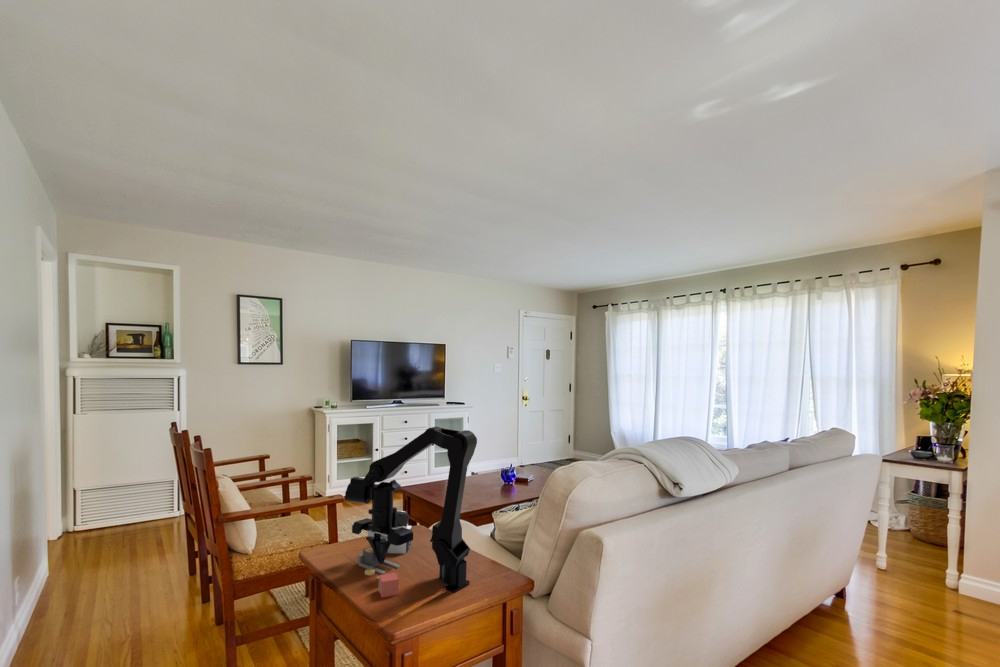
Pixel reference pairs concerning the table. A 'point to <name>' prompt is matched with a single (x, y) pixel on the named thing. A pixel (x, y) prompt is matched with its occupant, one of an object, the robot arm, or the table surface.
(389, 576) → the pink block
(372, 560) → the dark grey cube
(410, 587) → the table surface
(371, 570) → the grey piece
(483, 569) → the table surface
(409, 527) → the medicine bottle
